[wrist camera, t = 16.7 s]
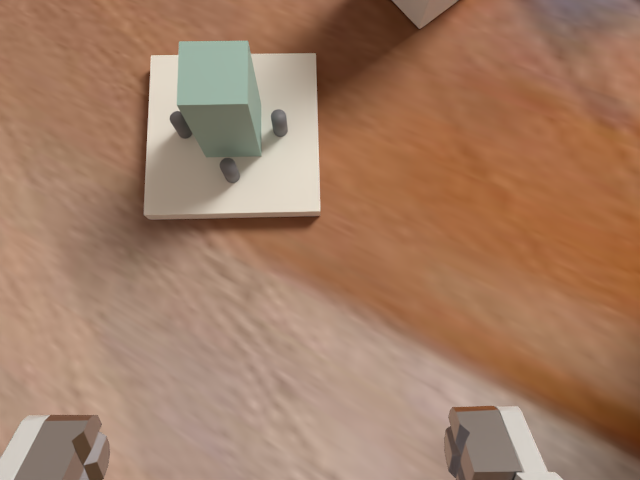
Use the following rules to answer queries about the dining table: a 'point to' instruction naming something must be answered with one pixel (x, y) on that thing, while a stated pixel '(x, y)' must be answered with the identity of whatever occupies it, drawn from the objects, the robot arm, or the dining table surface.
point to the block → (220, 97)
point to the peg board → (236, 172)
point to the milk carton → (423, 9)
